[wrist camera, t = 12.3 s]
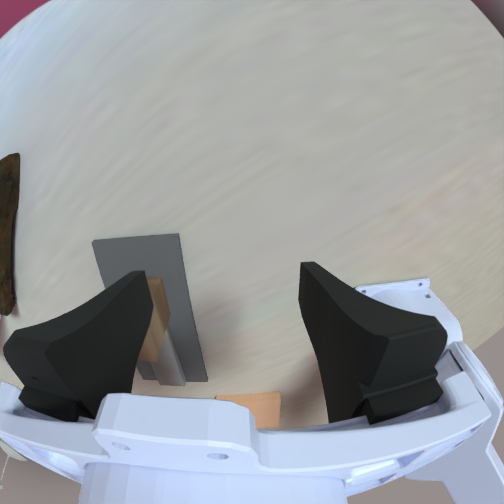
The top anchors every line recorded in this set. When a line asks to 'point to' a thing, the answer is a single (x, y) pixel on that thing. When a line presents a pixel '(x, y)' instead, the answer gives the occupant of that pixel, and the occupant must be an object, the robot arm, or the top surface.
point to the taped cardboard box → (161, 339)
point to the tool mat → (175, 284)
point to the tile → (260, 407)
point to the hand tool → (7, 226)
